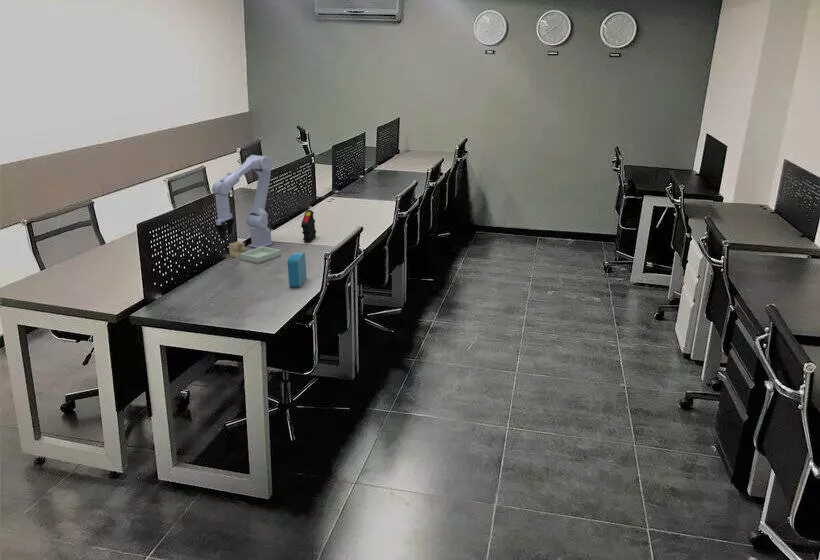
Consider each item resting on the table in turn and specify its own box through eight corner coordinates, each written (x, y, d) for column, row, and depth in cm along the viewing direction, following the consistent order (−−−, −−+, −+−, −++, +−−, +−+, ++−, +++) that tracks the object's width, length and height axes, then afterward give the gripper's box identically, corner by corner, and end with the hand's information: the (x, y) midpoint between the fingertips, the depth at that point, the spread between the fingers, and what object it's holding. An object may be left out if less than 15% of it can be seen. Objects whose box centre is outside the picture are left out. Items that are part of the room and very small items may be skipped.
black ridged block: (318, 232, 344) (313, 209, 333) (312, 249, 335) (307, 226, 324) (311, 232, 344) (305, 209, 334) (305, 249, 335) (299, 226, 325)
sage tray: (263, 252, 318) (262, 246, 317) (281, 256, 311) (280, 250, 310) (240, 259, 307) (240, 253, 306) (258, 264, 300) (258, 257, 299)
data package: (296, 278, 281) (294, 251, 277) (306, 278, 281) (304, 251, 277) (289, 288, 270) (287, 259, 266) (300, 288, 270) (298, 260, 266)
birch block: (238, 253, 317) (236, 241, 315) (245, 255, 314) (244, 242, 312) (230, 256, 313) (228, 243, 311) (237, 257, 310) (236, 245, 308)
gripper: (220, 204, 313) (224, 231, 318) (208, 211, 300) (212, 240, 304) (235, 204, 313) (238, 232, 317) (223, 211, 299) (226, 240, 304)
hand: (226, 236), depth 311 cm, fingers open, 7 cm apart
